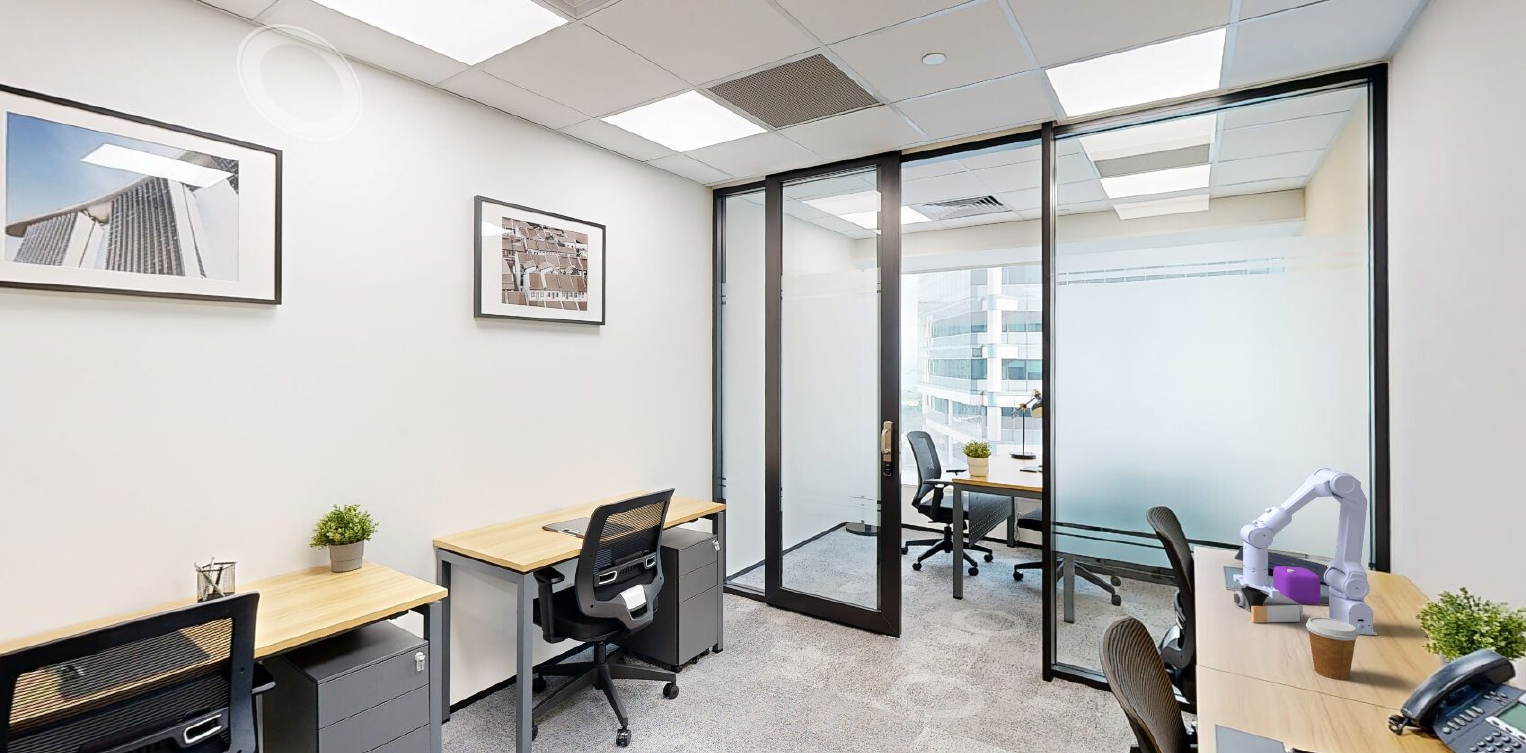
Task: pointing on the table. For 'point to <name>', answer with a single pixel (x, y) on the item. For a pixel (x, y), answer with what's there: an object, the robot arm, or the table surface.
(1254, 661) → the table surface
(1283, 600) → the grey box
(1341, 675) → the disposable coffee cup
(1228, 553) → the table surface
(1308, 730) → the table surface
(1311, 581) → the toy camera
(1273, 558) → the dark grey slab
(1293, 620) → the side door
